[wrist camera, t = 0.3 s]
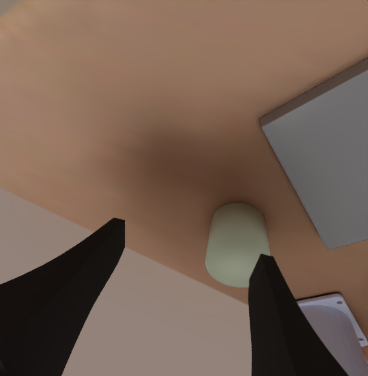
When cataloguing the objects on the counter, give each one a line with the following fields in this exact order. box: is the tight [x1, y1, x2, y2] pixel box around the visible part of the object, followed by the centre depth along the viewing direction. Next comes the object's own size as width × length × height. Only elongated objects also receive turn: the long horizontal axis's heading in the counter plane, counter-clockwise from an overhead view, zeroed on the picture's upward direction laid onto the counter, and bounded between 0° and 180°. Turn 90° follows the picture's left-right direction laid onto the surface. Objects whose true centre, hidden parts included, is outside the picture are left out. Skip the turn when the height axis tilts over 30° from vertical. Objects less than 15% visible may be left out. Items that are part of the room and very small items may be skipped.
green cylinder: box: [205, 203, 270, 288], centre depth 21 cm, size 5×5×5 cm
